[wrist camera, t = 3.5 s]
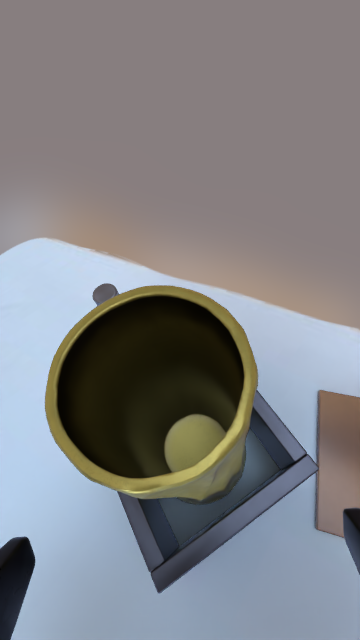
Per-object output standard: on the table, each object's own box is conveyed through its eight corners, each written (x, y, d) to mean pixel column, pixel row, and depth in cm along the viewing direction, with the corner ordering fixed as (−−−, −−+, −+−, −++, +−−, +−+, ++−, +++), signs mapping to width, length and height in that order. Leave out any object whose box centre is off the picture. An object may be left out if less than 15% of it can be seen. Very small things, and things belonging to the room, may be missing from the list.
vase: (229, 523, 17) (235, 594, 5) (138, 479, 18) (-30, 447, 6) (255, 421, 19) (301, 296, 7) (173, 392, 21) (102, 255, 9)
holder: (300, 474, 17) (401, 444, 7) (174, 571, 16) (81, 704, 6) (208, 352, 22) (191, 235, 12) (106, 416, 21) (-7, 341, 11)
